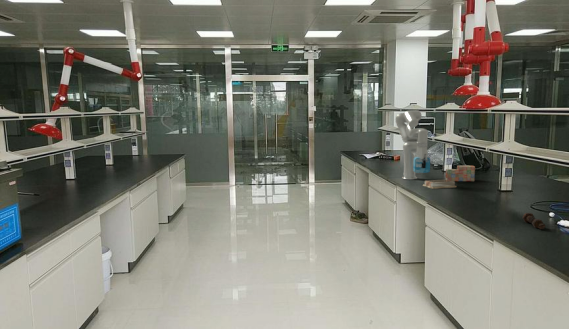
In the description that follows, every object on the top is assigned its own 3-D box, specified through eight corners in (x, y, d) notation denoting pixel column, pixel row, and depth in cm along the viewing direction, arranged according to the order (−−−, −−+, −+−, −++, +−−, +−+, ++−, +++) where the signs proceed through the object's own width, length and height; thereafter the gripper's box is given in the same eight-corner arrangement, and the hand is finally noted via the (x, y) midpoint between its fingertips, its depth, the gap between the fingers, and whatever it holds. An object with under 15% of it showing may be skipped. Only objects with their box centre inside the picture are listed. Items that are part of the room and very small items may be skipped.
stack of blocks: (447, 181, 338) (447, 166, 336) (445, 179, 344) (445, 165, 342) (474, 181, 334) (475, 166, 332) (472, 180, 340) (472, 165, 338)
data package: (414, 172, 326) (415, 158, 324) (413, 171, 331) (413, 157, 329) (429, 172, 326) (430, 157, 324) (428, 171, 330) (428, 156, 328)
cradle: (422, 185, 321) (422, 180, 321) (445, 184, 325) (446, 179, 324) (432, 188, 308) (432, 183, 307) (456, 187, 311) (456, 182, 311)
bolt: (540, 233, 201) (525, 224, 216) (550, 229, 200) (534, 219, 215) (534, 224, 201) (520, 215, 215) (544, 219, 200) (529, 210, 215)
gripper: (412, 144, 332) (412, 166, 335) (423, 146, 316) (422, 169, 319) (421, 143, 334) (420, 165, 337) (432, 146, 317) (431, 169, 320)
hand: (421, 167), depth 328 cm, fingers closed on data package, 5 cm apart
